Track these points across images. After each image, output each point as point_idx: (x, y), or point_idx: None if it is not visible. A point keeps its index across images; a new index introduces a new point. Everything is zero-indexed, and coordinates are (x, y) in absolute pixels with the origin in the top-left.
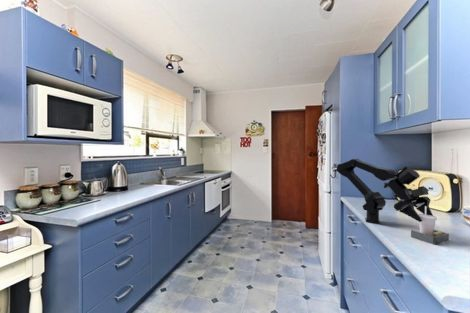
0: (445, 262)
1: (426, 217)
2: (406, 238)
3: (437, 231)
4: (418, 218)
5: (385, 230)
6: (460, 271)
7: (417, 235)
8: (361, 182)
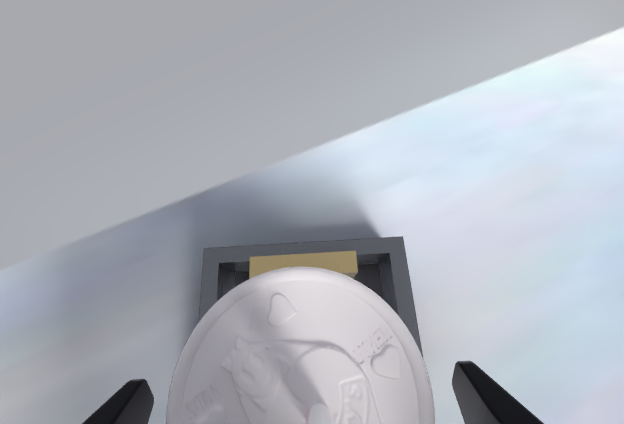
0: (566, 112)
1: (395, 348)
2: None
3: None
4: (510, 411)
5: None
6: (579, 57)
7: None
8: None
